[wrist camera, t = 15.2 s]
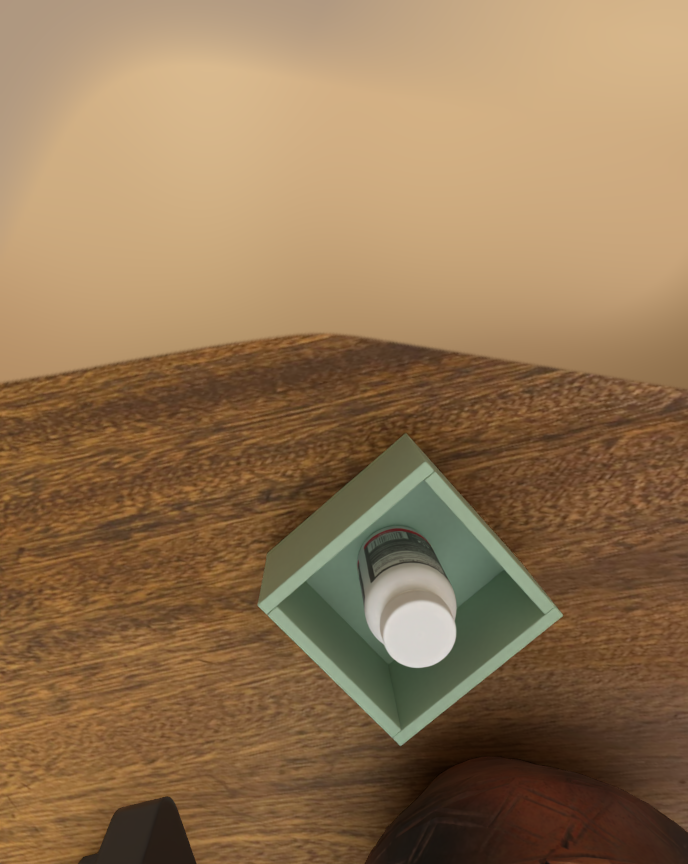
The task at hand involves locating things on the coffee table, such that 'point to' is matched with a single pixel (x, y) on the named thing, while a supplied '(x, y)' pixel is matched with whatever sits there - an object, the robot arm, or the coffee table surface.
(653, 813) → the bowl
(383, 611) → the pill bottle
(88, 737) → the coffee table surface
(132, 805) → the robot arm
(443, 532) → the bin
